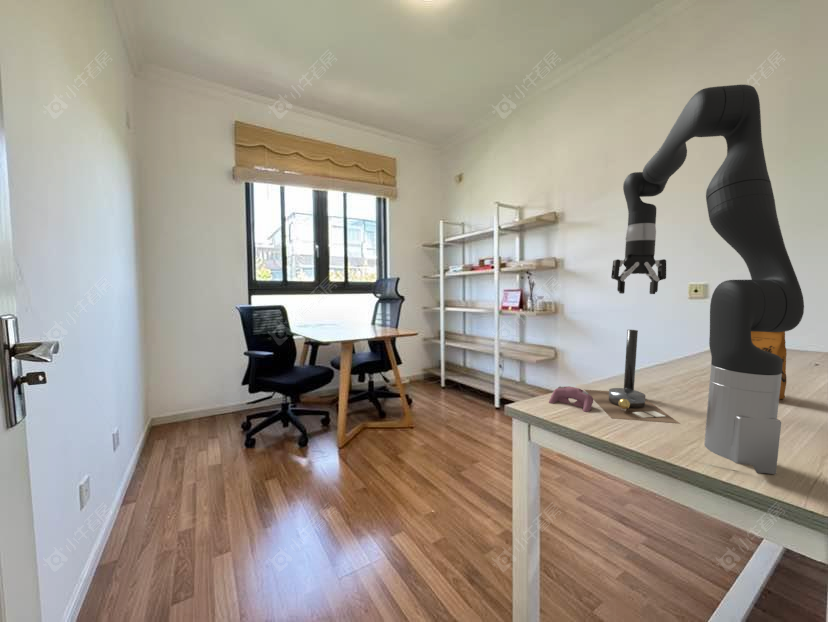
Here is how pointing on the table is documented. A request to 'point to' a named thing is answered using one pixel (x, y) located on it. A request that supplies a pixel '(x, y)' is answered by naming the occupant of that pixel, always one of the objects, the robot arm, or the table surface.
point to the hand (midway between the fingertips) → (636, 293)
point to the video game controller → (572, 397)
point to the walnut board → (630, 409)
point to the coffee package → (773, 350)
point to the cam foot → (628, 379)
